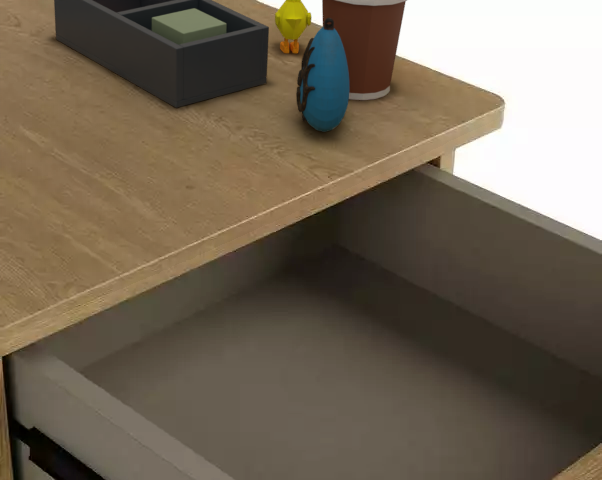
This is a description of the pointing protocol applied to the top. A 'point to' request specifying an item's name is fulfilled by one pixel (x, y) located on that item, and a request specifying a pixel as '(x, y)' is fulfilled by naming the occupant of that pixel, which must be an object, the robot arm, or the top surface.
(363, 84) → the coffee cup
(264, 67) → the dark grey divided tray
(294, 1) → the toy figure
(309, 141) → the top surface
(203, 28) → the sage block
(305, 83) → the ornament
